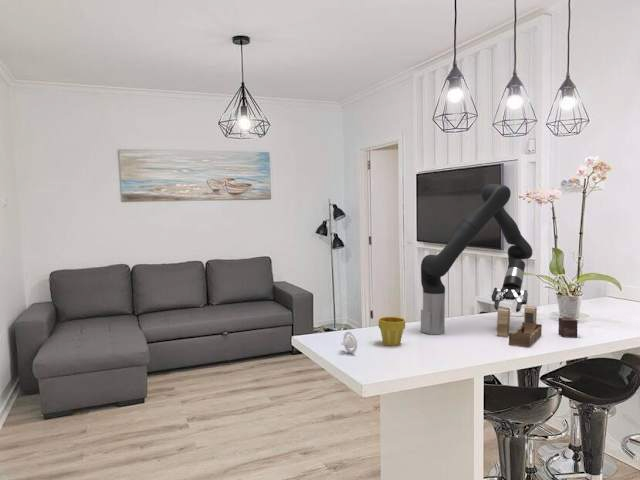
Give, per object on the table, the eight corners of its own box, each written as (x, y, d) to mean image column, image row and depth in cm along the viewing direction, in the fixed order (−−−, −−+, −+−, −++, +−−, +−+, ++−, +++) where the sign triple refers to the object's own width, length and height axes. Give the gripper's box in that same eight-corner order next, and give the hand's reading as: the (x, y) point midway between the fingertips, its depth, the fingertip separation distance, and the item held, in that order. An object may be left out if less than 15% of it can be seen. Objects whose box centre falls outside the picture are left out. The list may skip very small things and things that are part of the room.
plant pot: (402, 348, 194) (402, 322, 194) (375, 345, 198) (375, 320, 197) (407, 341, 204) (407, 317, 203) (381, 339, 208) (382, 315, 207)
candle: (525, 314, 257) (526, 265, 255) (522, 317, 251) (523, 266, 249) (510, 313, 261) (511, 264, 259) (507, 315, 255) (508, 265, 253)
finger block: (507, 337, 211) (507, 311, 210) (497, 336, 213) (497, 309, 213) (509, 335, 215) (510, 309, 214) (499, 334, 217) (500, 308, 216)
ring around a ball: (360, 354, 186) (360, 332, 185) (348, 357, 183) (348, 335, 182) (347, 349, 192) (347, 328, 192) (335, 352, 189) (335, 330, 189)
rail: (529, 347, 195) (530, 316, 194) (508, 344, 199) (509, 314, 198) (541, 335, 215) (542, 306, 214) (522, 332, 219) (523, 304, 218)
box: (577, 338, 210) (578, 320, 210) (561, 337, 211) (562, 319, 211) (573, 334, 216) (573, 317, 216) (558, 333, 217) (558, 316, 217)
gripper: (495, 273, 228) (487, 303, 219) (529, 275, 220) (522, 306, 211) (498, 284, 233) (491, 313, 224) (531, 286, 225) (525, 316, 216)
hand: (506, 309), depth 218 cm, fingers open, 8 cm apart
